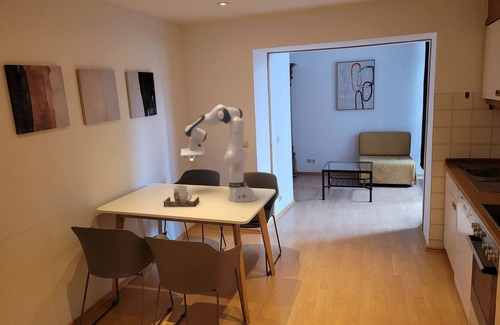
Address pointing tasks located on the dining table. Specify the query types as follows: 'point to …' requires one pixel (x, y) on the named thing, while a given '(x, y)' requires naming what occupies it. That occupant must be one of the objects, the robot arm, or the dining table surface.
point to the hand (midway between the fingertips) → (191, 161)
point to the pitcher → (181, 193)
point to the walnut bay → (180, 203)
